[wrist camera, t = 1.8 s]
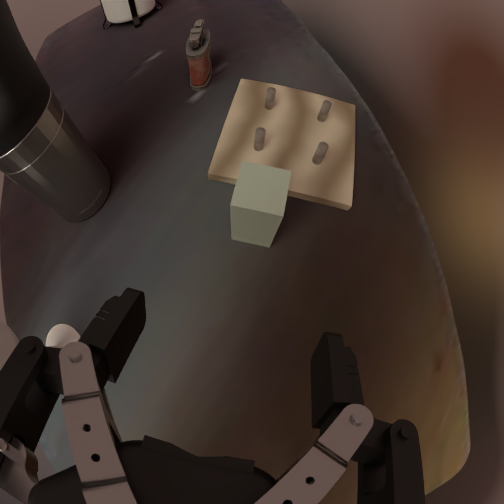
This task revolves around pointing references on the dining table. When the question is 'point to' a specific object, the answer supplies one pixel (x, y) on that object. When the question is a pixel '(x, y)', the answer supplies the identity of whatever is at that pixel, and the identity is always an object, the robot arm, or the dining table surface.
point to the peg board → (290, 141)
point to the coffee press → (126, 10)
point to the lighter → (199, 56)
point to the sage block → (258, 203)
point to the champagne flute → (4, 340)
